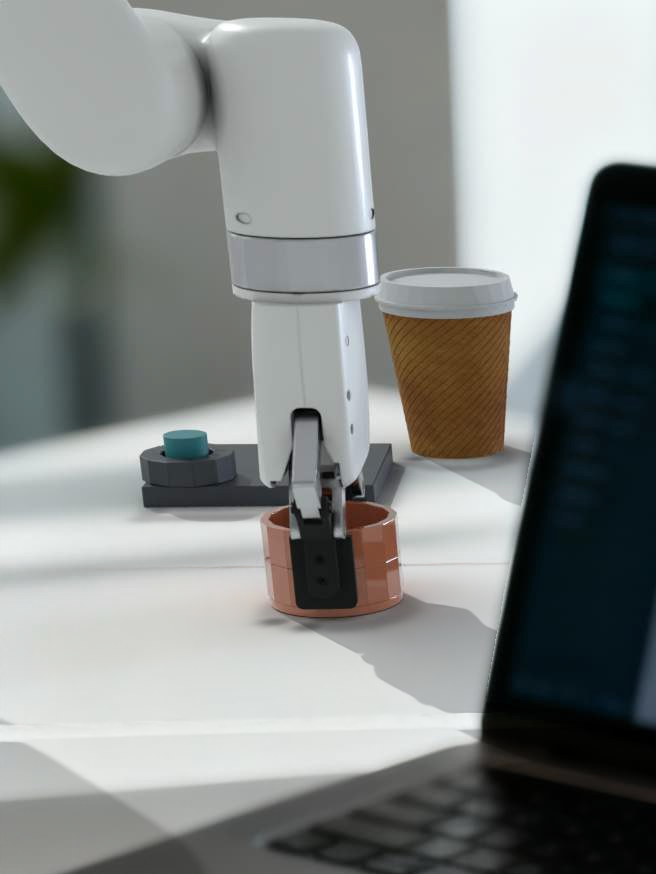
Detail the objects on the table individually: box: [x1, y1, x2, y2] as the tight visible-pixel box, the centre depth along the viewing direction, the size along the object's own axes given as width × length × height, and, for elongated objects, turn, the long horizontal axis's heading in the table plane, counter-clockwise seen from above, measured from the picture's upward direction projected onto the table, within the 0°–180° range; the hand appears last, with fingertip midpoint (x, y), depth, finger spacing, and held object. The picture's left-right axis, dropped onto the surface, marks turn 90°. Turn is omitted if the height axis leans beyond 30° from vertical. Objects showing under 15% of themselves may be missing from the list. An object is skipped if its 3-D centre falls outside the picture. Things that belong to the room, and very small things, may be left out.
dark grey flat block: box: [138, 442, 394, 508], centre depth 156 cm, size 14×12×3 cm
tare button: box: [162, 429, 209, 458], centre depth 151 cm, size 3×3×2 cm
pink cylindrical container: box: [259, 500, 404, 618], centre depth 132 cm, size 7×7×5 cm
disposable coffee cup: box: [373, 266, 519, 460], centre depth 165 cm, size 10×10×12 cm
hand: (336, 585), depth 133 cm, fingers closed on pink cylindrical container, 7 cm apart
